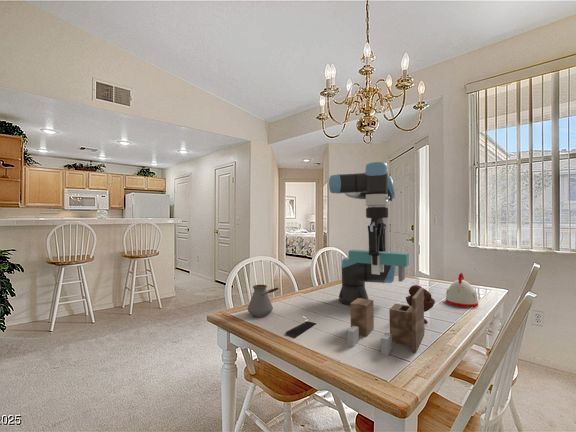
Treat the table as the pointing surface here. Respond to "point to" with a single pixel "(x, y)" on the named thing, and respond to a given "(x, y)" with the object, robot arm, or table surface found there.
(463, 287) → the white and red dome
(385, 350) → the grey stand
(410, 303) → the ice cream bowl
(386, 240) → the robot arm
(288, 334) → the phone
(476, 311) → the table surface
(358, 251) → the teal rail
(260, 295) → the coffee pot
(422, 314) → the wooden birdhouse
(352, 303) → the block
